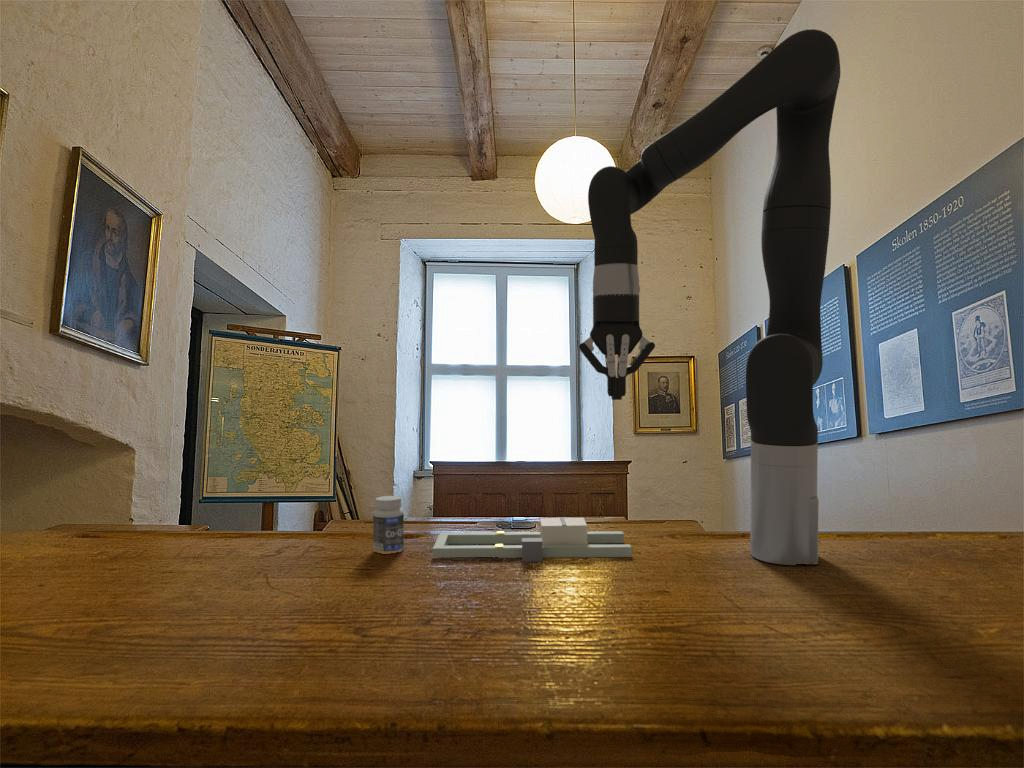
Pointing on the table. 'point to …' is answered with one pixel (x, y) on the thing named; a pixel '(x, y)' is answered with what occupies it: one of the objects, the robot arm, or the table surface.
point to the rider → (563, 531)
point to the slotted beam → (528, 546)
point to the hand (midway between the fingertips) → (616, 399)
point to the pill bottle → (388, 524)
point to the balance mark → (499, 544)
